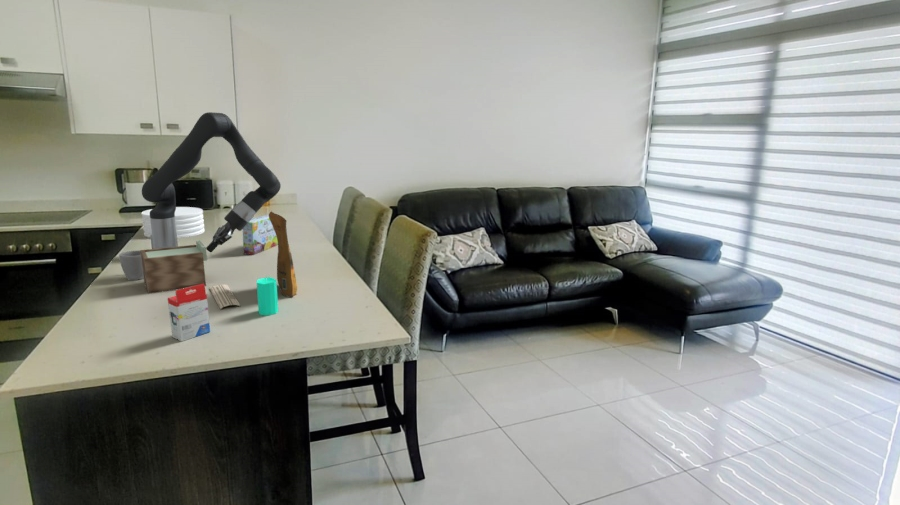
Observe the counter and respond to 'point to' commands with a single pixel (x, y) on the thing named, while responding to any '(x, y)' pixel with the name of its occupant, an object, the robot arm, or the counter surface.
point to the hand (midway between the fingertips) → (208, 250)
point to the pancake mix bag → (284, 257)
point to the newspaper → (223, 296)
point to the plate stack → (180, 222)
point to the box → (172, 270)
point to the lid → (180, 251)
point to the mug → (132, 264)
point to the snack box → (259, 235)
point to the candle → (267, 296)
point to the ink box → (189, 313)
